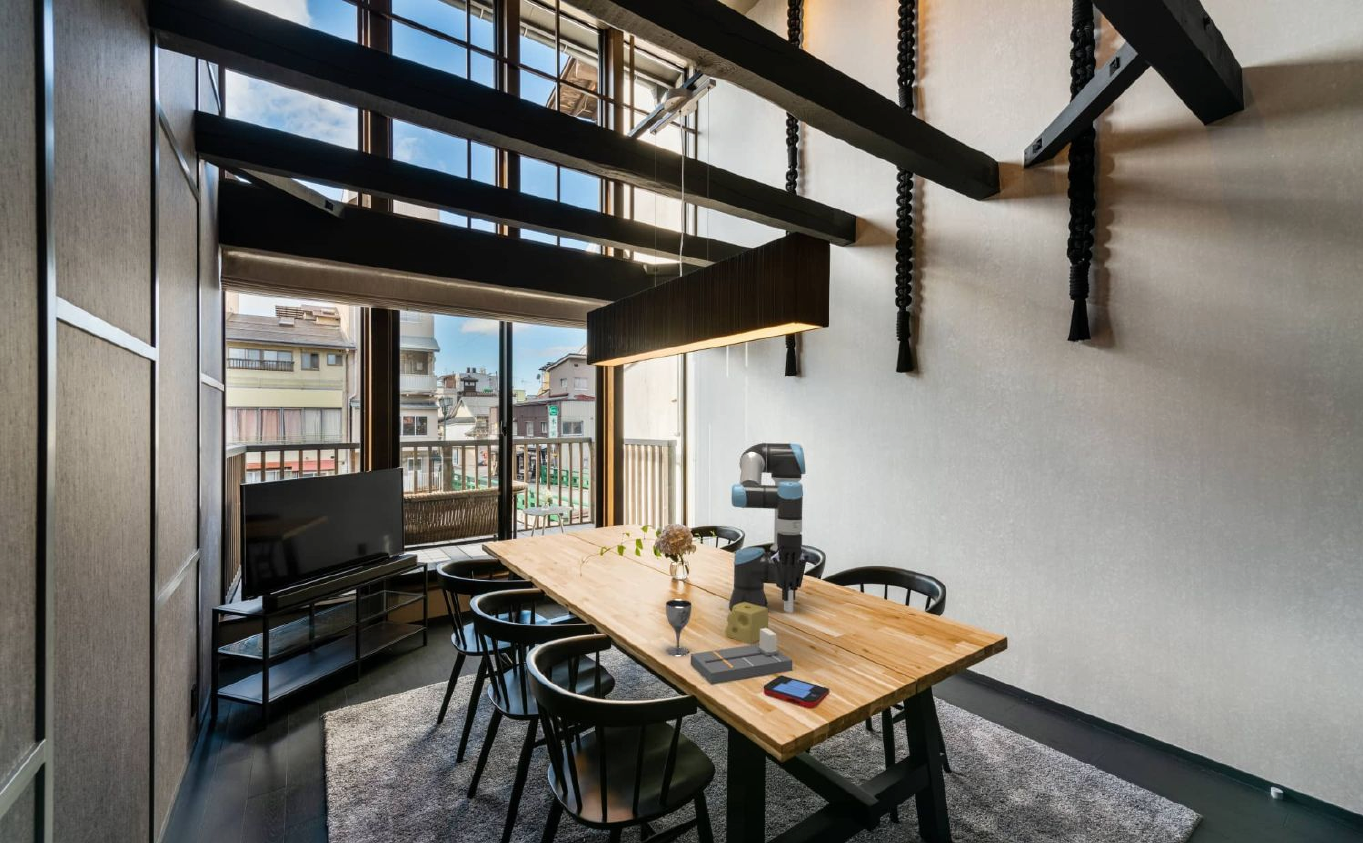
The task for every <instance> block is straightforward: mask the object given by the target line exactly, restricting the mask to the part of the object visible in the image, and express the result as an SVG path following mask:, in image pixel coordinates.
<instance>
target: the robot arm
mask: <svg viewBox="0 0 1363 843" xmlns="http://www.w3.org/2000/svg"><path fill="white" fill-rule="evenodd" d="M738 466H739V468H740V475H739V483H738V484H737V483H735V484H733V485H732V486H731V505H732V506H733V507H735V508H742V509H746V508H747V509H767V510H768V509H769V510H770V509H773V510H774V527H773V528H774V529H773V530H774V535H773V536H774V537H773V538H774V539H773V541H774V542H773V544H772V545H771V547H769V548H770V549H769V550H770V551H769V552H766V551H765V549H764V548H763V547H758V546H757V547H753V546H752V547H745V548H741V549H739V550H737V551H736V552H735V553H734V560H733V566H734V568H733V571H734V572H733V590H732V593H731V596H730V599H729V602H728V609H729V611H731V612H732V609H733V606H734V605H736V604H739V603H743V602H747V603H750V604H753V605H758V606H762V607H765V608H768V609H769V604H768V600H767V596H766V592H765V584H774V585H775V586H776V588H779V589H781V600H782V601H783V611H784V612H787V613H790V614H791V613H794V601H795V600H796V591H798V588H801V587H802V583H803V580H804V574H805V571H806V570H805V569H806V565H807V562H808V561H809V558H810V557H809V555H807V554H805V553H803V549H802V545H803V535H802V532H803V505H804V504H803V502H804V501H803V499H804V490H803V484H802V482H800V481H801V480H802V476H803V475H805V474H806V471H807V470H806V460H805V453H804V449H803V447H802V445H801V444H797V443H791V442H789V443H780V442H778V443H770V442H769V443H768V442H767V443H766V442H762V443H758V444H754V445H752V446H750V447H749V448H747V449H746V450H745V451H744V452H743V453H742V454H741V456H740V458H739V465H738ZM765 473H766V474H770V475H771V476H770V477H771V479H772V481H774V485H770V484H768V485H766V484H762V477H763V476H762V475H763V474H765Z"/></svg>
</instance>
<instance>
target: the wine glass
mask: <svg viewBox="0 0 1363 843" xmlns="http://www.w3.org/2000/svg"><path fill="white" fill-rule="evenodd" d="M665 613H666V614H665V615H666V621H667V623H668V624H669V625H670V626H671V628H672V629H673V630H674V633H675V637H676V646H675V648H673V647H670V649H669V648H668V649H666V651H667V653H668V654H667V653H666V654H667V655H669V656H671V655H672V656H673V657H684V655H685V656H687V655H689V654H690V651H688V650H689V649H688V648H685V649H684V647H681V648H679V647H680V638H681V633H682V631H683V629H685V627H686V626H687V625H688V624H689V622H690V618H691V614H692V602H691V601H689V600H687V599H676V598H675V599H670V600H668V601H666V602H665ZM688 653H689V654H688ZM686 654H687V655H686Z"/></svg>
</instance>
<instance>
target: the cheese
mask: <svg viewBox="0 0 1363 843" xmlns="http://www.w3.org/2000/svg"><path fill="white" fill-rule="evenodd" d="M726 621H727V625H726V628H725V636H726V637H727V638H730V639H733V640H737V641H739V642H743V643H745V644H747V645H753V644H754V643H756V642H760V629H763V628H768V629H769V607H768V608H765V607H762V606H758V605H753V604H750V603H747V602H743V603H739V604H736V605H734V606H733V609H732V611H731V612H730V613H728V614H727V617H726Z"/></svg>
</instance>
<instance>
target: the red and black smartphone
mask: <svg viewBox="0 0 1363 843" xmlns="http://www.w3.org/2000/svg"><path fill="white" fill-rule="evenodd" d="M829 692H830V688H829V687H826V686H822V685H818V684H813V683H811V682H807V681H803V680H799V679H797V678H794V677H789V676H786V675H782V674H781V675H778V676H777V677H776V678H774V679H773V680H771V681H769V682H768V683H766V684H764V686H763V693H764V695H765V696H768V697H770V698H771V697H772V698H773V699H778V700H780V701H783V702H787V703H790V704H793V705H796V706H800V707H803V708H806V707H807V709H809V708H810V709H812V708H815V707H816V706H817V704H819V703H820V702H821V701H820V700H821V699H822V698H823V697H824V698H825V697H826V696H827V695H828V694H829ZM824 698H823V699H824ZM823 699H822V700H823ZM819 701H820V702H819ZM818 702H819V703H818ZM811 707H812V708H811Z"/></svg>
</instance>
